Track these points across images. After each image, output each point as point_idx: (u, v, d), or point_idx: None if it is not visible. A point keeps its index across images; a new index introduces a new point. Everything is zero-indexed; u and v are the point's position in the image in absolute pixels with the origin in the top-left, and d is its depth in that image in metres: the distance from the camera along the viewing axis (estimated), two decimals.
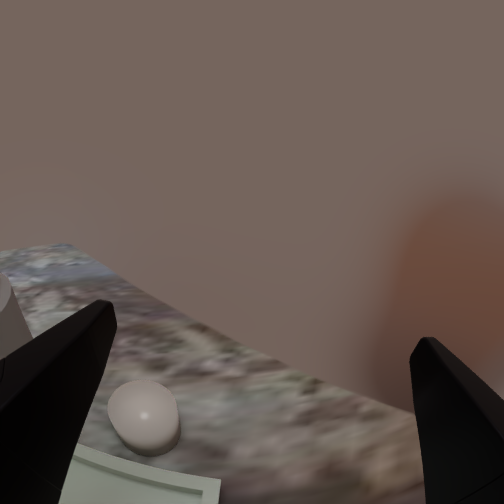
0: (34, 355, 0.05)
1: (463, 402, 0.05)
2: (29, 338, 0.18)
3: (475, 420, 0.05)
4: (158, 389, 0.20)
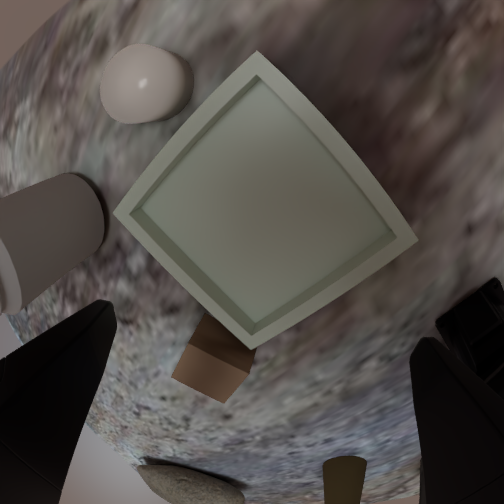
0: (34, 355, 0.05)
1: (463, 402, 0.05)
2: (27, 192, 0.16)
3: (474, 421, 0.05)
4: (122, 56, 0.14)
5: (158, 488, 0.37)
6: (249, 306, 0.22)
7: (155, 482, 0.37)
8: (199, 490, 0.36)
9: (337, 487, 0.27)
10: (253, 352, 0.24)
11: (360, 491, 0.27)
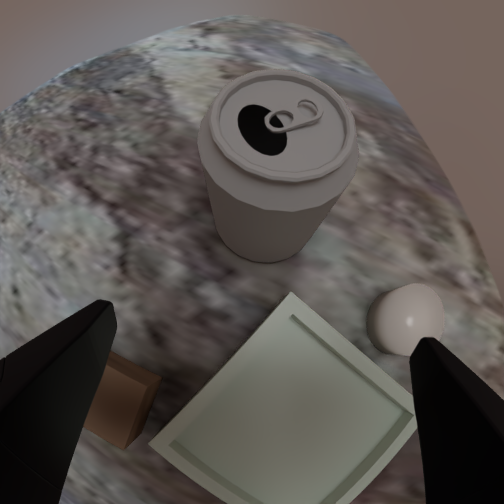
0: (34, 355, 0.05)
1: (463, 402, 0.05)
2: None
3: (475, 421, 0.05)
4: (437, 304, 0.18)
5: None
6: (193, 432, 0.18)
7: None
8: None
9: None
10: (135, 438, 0.17)
11: None
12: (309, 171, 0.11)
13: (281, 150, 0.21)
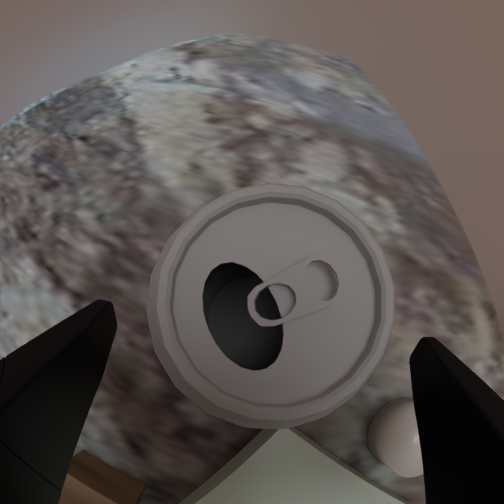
0: (34, 355, 0.05)
1: (463, 402, 0.05)
2: None
3: (475, 421, 0.05)
4: None
5: None
6: None
7: None
8: None
9: None
10: None
11: None
12: (313, 406, 0.07)
13: None
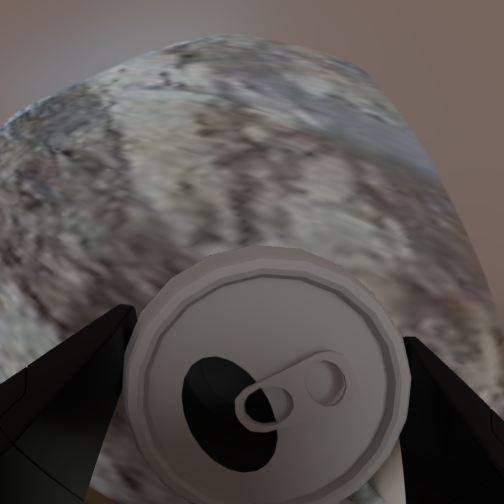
0: (58, 364, 0.05)
1: (443, 405, 0.05)
2: None
3: (455, 425, 0.05)
4: None
5: None
6: None
7: None
8: None
9: None
10: None
11: None
12: None
13: None
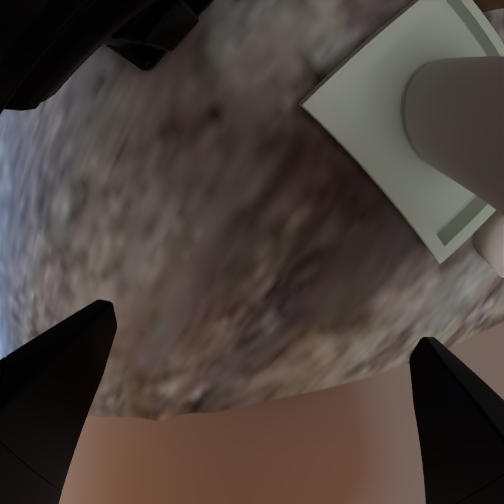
0: (34, 355, 0.05)
1: (463, 402, 0.05)
2: (484, 200, 0.12)
3: (475, 420, 0.05)
4: None
5: None
6: (452, 19, 0.11)
7: None
8: None
9: None
10: None
11: None
12: None
13: None
